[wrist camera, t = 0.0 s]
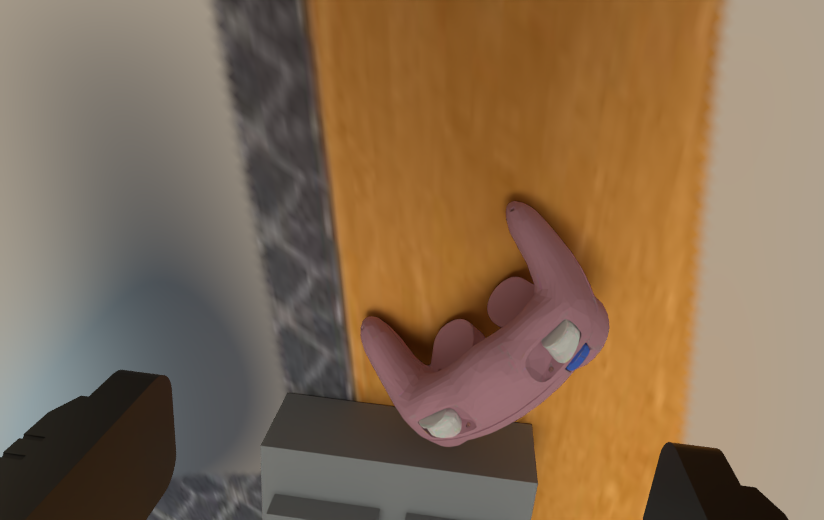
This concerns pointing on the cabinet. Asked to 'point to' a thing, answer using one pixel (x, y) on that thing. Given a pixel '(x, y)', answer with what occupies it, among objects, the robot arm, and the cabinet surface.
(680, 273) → the cabinet surface
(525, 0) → the cabinet surface
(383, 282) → the cabinet surface
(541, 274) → the video game controller
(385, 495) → the control panel
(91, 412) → the robot arm
